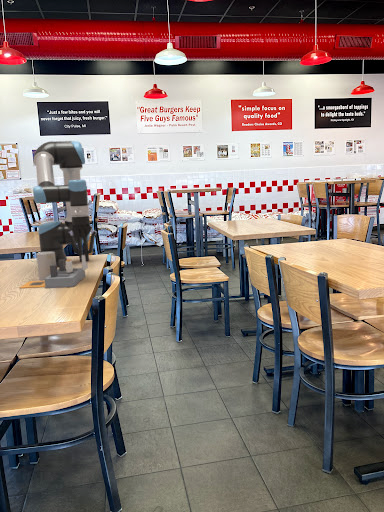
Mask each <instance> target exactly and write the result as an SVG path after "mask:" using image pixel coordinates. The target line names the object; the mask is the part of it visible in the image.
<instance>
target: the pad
mask: <svg viewBox="0 0 384 512" xmlns="http://www.w3.org/2000/svg"><path fill="white" fill-rule="evenodd" d="M38 288H45V280H32V281H28V282H26V283H24V284H23V285H21V286H20V287H19V289H38Z"/></svg>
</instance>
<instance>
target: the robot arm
mask: <svg viewBox="0 0 384 512" xmlns="http://www.w3.org/2000/svg"><path fill="white" fill-rule="evenodd" d="M84 153H85V152H84V148H83V146H82V143H81V142H80V141H76V140H75V141H74V140H65V141H64V140H63V141H61V140H59V141H58V140H57V141H53V140H52V141H47V142H44V143H42V144H41V145H39V147H37V148H36V150H35V151H34V154H33V157H32V161H33V164H34V165H35V169H36V170H35V171H36V180H37V182H36V183H37V186H34V187H33V189H32V190H33V191H32V192H33V200H34V203H35V204H52V203H65V205H66V206H65V207H66V217H65V218H64V223H62V222H61V221H60V220H54V221H49V222H45V223H42V224H39V225H38V229H37V231H38V238H39V249H40V252H55V259H56V264H57V268H59V261H58V260H60V259H65V266H66V260H67V259H68V258H67V255H66V253H65V251H64V245H71V246H72V249H73V253H74V254H76V255H78V256H79V257H78V258H79V259H78V260H79V263H81V265H82V267H81V268H83V270H85V271H86V270H88V262H90V256H89V255H90V254H91V253H93V251H94V246H95V245H94V244H95V237H96V235H97V233H98V231H97V230H94V229H93V228H92V226H91V221H90V216H89V214H90V208H89V199H88V185H87V181H86V180H85V179H81V170H82V169H83V165H85V164H86V160H85V154H84ZM54 165H58V167H59V169H60V170H61V171H62V173H63V184H60V185H59V184H58V185H55V184H56V182H55V175H54V174H55V173H54ZM89 241H90V242H89ZM88 242H89V243H88ZM83 250H84V251H83Z"/></svg>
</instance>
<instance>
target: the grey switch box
mask: <svg viewBox="0 0 384 512" xmlns="http://www.w3.org/2000/svg"><path fill="white" fill-rule="evenodd" d="M58 261H59V267H57V264H52V265H50V272H51V275H49V276H48V277H46V278H45V279H44V280H43V281H45V287H44V288H45V289H57V288H58V289H59V288H74V287H75V286H76V285H77V284H79V282H81V281H82V280H83V279H84V278H85V277H86V270H83V267H75V268H74V267H73V271H72V272H69V273H67V271H66V265H65V259H60V260H58Z"/></svg>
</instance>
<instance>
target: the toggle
mask: <svg viewBox="0 0 384 512" xmlns="http://www.w3.org/2000/svg"><path fill="white" fill-rule="evenodd" d="M65 267H66V271H67V273H69V272H72V271H73V268H74V267H73V260H72V259H71V258H70V259H69V258H67V260H66V265H65Z"/></svg>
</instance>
